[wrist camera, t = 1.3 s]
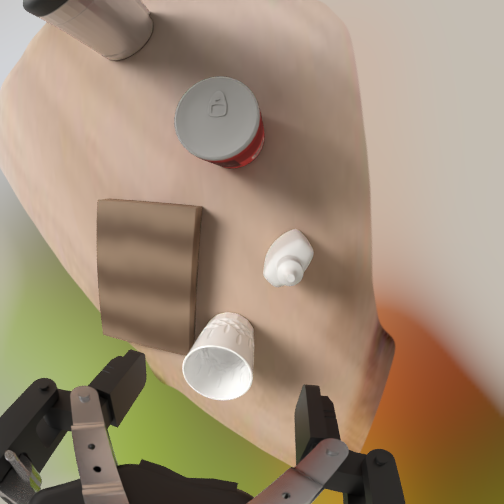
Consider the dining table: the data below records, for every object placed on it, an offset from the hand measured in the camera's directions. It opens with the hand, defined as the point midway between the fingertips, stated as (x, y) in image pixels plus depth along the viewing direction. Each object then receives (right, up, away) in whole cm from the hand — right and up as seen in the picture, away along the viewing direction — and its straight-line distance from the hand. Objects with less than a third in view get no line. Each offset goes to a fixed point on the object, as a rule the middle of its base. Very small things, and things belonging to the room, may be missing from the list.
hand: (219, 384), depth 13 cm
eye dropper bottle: (+6, +7, +23) cm, 25 cm away
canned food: (-1, +20, +20) cm, 29 cm away
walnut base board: (-13, +3, +25) cm, 28 cm away
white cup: (-1, -5, +26) cm, 27 cm away
